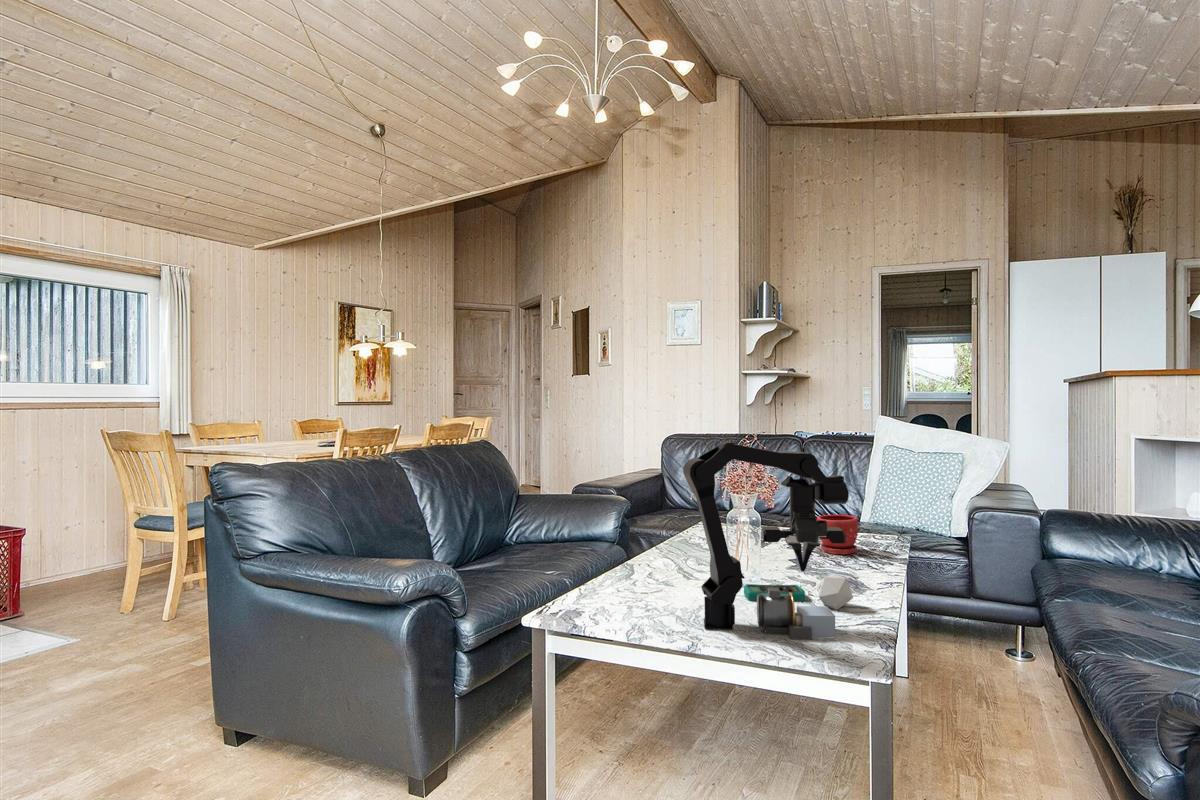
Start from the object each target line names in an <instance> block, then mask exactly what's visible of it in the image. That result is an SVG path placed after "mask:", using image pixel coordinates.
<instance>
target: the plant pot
mask: <svg viewBox="0 0 1200 800" xmlns="http://www.w3.org/2000/svg"><path fill="white" fill-rule="evenodd" d="M818 520H826V522H827V527H839V528H840V529H841V530H842V531H843V532H845V535H846V543H832V542H831V541H830V540H829V539H820V541H821V543H822V544H820V548H821V550H822V551H823V552H825V553H827V554H832V555H851V554H854V553H855V552H856V551H857V549H858V547H857V546H856V545H855V543H856V541H857V538H858V532H859V531H858V530H859V522H858V517H856V516H854V515H848V514H826V515H825V514H824V515H819V516H817V518H816V521H818Z"/></svg>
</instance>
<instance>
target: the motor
mask: <svg viewBox="0 0 1200 800" xmlns="http://www.w3.org/2000/svg"><path fill="white" fill-rule="evenodd" d="M795 607H796V606H795V601H794V599H793V595H792V593H789V594H780V590H779V588H775V587H768V594H758V595H757V601H756V617H757V624H758V626H757V627H759V628H762V629H764V631H765V634H766V635H774V636H775V635H779V636H781V635H783V636H789V628H788V627H789V625H795V613H796V611H795Z"/></svg>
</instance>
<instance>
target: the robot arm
mask: <svg viewBox="0 0 1200 800" xmlns="http://www.w3.org/2000/svg"><path fill="white" fill-rule="evenodd" d="M732 460H734V461H741V462H746V463H750V464H751V463H752V464H756V465H762V466H767V467H771V468H776V469H779V470H781V471H784V472H786V473H789V474H792V475H794V476H798V477H801V478H794V477H793V476H790V475H787V476H786V478H785V479H784V480H782V481H781V482H780V486H784V487H786V488H789V529H788V530H787V529H785V530H784V529H780V528H779V526H776V525H775V526H772V525H771V526H770V525H763V526H762V527H761V529H760V538H761V539H762V541H763V542H765V543H778V542H779V541H781V539H785V543H786V544H787V545H788V546H789V547H791V548H792V550H793V553H794V554H795V558H796V560H797V564H798V566H799V570H800V572H805V571H806V569H807V566H808V562H809V560H810V557H811V555H812V552H813V551H814V550H815V548H816V547H821V543H820V541H821V539H829V540H830V541H831V542H832V543H846V535H845V532H843V531H842V530H841V529H840V528H839V527H827V522H826V520H818V521H817V518H816V501H817V502H818V503H819V504H820V505H845V504H847V503H848V500H849V493H850V492H849V489H848V486H847V483H846V481H845V477H844V476H843V475H840V474H839V475H838V474H837V475H831V476H829V475H828V476H826V475H825V474H824V472H823V471H822V470H821V468H820V466H819V461H818V459H817V457H816V456H815V455H814V454H812V453H808V452H803V451H798V450H797V451H793V450H792V451H791V450H789V451H786V450H784V451H773V450H769V449H768V450H767V449H762V448H756V447H752V446H746V445H742V444H741V445H740V444H737V443H734V442H731V441H722V442H721V443H719V444H718V445H716V446H715V447H714V448H711V449H710V450H708V451H706V452H704V453H702V454H701V455H700V456H698V457H694V458H693V457H692V458H689V459H688V460H687V461H686V462H685V464H684V465H683V468H682V473H683V475H684V478H685V481H686V483H687V484H688V487H689V488H690V490H691V492H692V494H693V496H694V497H695V500H696V503H697V507H698V511H699V515H700V520H701V522H702V526H703V527H702V528H703V530H704V534H705V538H706V542H707V547H708V550H709V554H710V560H709V572H710V573H709V575H710V576H709V578H708V579H706V580H705V582H704V583H703V584H701V587H700V588H701V590H702V593H703V595H704V597H703V598H704V617H703V624H704V625H703V626H704V629H706V630H723V631H724V630H726V631H731V630H732V631H734V626H735V623H736V620H735V619H736V613H735V612H736V608H735V607H736V606H735V604H734V602H735V601H736V600H735V599H736V597H737V594H738V593H739V592H740V590H741V589H742V588H743V585H744V584H743V579H745V576H744V575H743V572H742V566H741V561H740V560H739V559H738V558H736V557H734V556H733V555H730V551H729V549H728V545H727V541H726V537H725V534H724V529H723V525H722V520H721V518H720V513H719V509H718V506H717V502H716V498H715V491H716V478H715V477H716V474H718V473H719V472H721V470H723V469H724V468H725V466H726V465H728V464H729V463H730V462H731V461H732ZM806 479H807V480H811V481H814V482H808V481H807V480H806ZM802 544H803V545H802Z"/></svg>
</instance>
